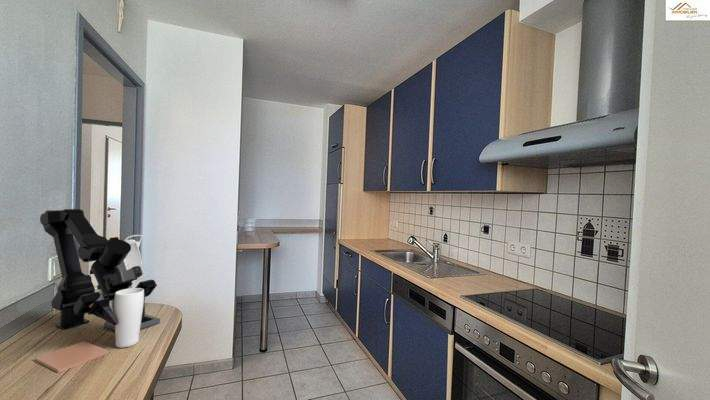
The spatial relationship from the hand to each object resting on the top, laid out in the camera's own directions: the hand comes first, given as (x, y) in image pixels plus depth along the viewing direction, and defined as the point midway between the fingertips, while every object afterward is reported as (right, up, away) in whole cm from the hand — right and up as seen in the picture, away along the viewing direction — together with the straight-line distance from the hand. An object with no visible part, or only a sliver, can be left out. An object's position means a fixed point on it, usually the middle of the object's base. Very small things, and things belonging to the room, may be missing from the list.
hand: (130, 320), depth 83 cm
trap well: (-9, -7, +13) cm, 17 cm away
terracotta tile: (-10, -7, -7) cm, 14 cm away
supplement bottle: (-29, -7, +26) cm, 40 cm away
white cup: (-1, -7, 0) cm, 7 cm away
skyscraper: (-18, -7, +22) cm, 30 cm away
